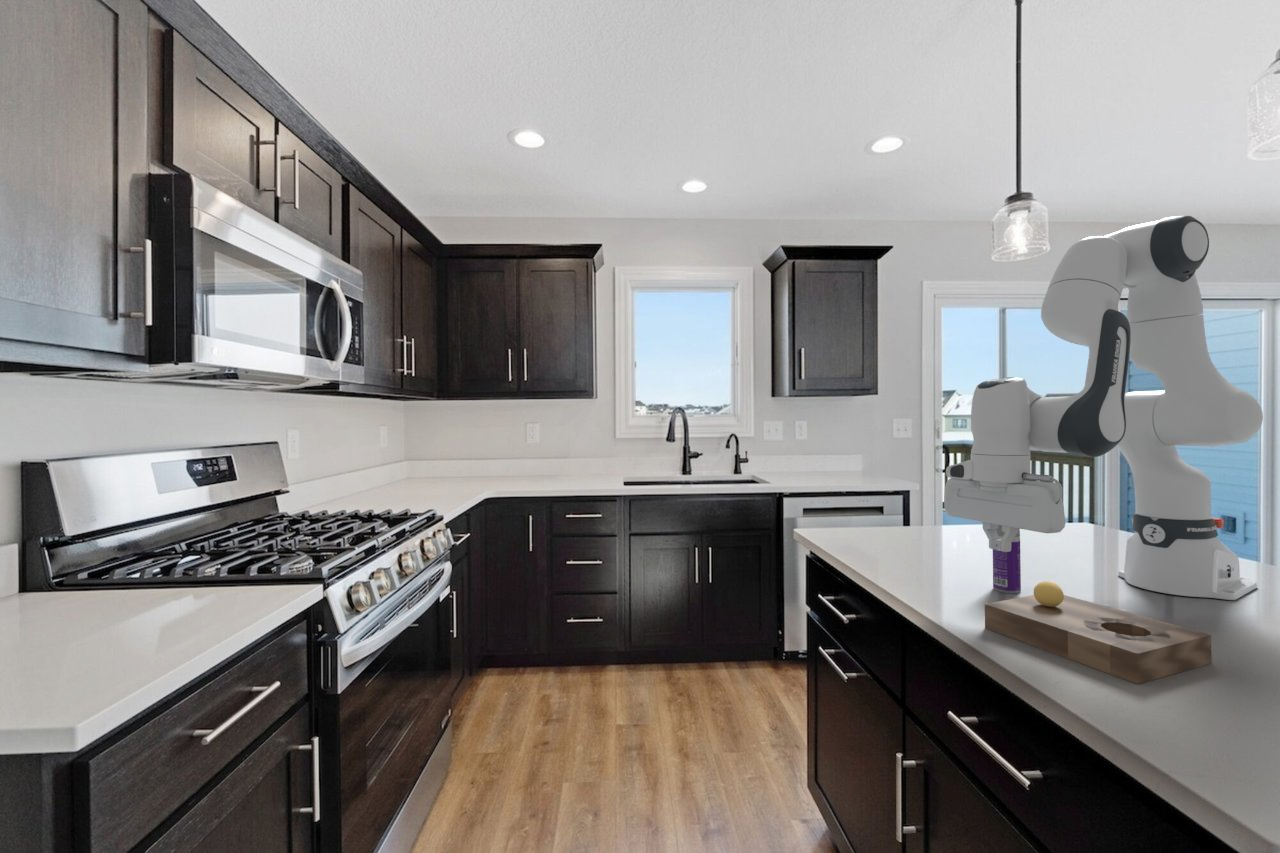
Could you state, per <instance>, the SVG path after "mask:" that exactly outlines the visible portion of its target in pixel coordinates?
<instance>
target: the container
mask: <svg viewBox="0 0 1280 853" xmlns="http://www.w3.org/2000/svg"><path fill="white" fill-rule="evenodd" d="M1020 530H1021V529H1019V528H1018V533H1017V535H1016V536H1015V538H1014V539H1013V541H1011V551H1010V552H1003V551H999V550H994V549H992V589H993V590H994V591H995V592H996V591H997V592H999V593H1004V594H1014V595H1015V594H1020V593H1021V592H1022V586H1021V585H1022V584H1021V583H1022V574H1021V573H1022V572H1021V571H1022V570H1021V568H1022V566H1021V532H1020ZM996 531H997V534H998V536H999V539H1002V537H1003V536H1004V534H1005V532H1002V525H998V528H996Z"/></svg>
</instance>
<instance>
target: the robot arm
mask: <svg viewBox="0 0 1280 853" xmlns="http://www.w3.org/2000/svg"><path fill="white" fill-rule="evenodd" d="M1209 247H1210V238H1209V233H1208V231H1207V228H1206V226H1205V225H1204V224H1203V222H1201V221H1199V220H1198V219H1197V218H1195V217H1193V216H1192V215H1175V216H1169V217H1164V218H1161V219H1160V220H1155V221H1150V222H1145V223H1140V224H1135V225H1132V226H1131V225H1130V226H1128V227H1125V228H1122V229H1120V230H1118V231H1115V232H1112V233H1110V234H1106V235H1104V236H1102V235H1100V236H1099V235H1097V236H1096V235H1095V236H1088V237H1085V238H1082V239H1080V240H1078V241H1076V242H1074V243H1073V244H1072V245H1071V246H1070V247H1069V248H1068V249H1067V251H1066V252H1065V253H1064V255H1063V257H1062V259H1061V260H1060V262H1059V264H1058V266H1057V267H1056V269H1055V271H1054V272H1053V276H1052V277H1051V280H1050V282H1049V285H1048V287H1047V290H1046V293H1045V296H1044V298H1043V301H1042V304H1041V308H1040V310H1041V311H1040V317H1041V320H1042V323H1043V325H1044V327H1045V328H1046V330H1048V331H1049V333H1051V334H1052V335H1054V336H1055V337H1057V338H1059V339H1061V340H1062V341H1065V342H1067V343H1071V344H1074V345H1079V346H1084V347H1088V351H1089V352H1088V359H1087V366H1086V374H1085V382H1084V387H1083V389H1082V390H1080V391H1079V392H1078V393H1076V394H1074V395H1069V396H1066V395H1065V396H1042V395H1041V394H1039V393H1036V392H1035V391H1033V390H1032V389H1030V387H1028V384H1027V381H1026V379H1025V378H1021V377H1019V376H1015V377H1014V376H1013V377H1010V376H1008V377H1001V378H993V379H989V380H985V381H982V382H980V383H979V384H977V385H976V387H975V388H974V392H973V394H972V395H973V396H972V399H971V400H972V401H971V409H970V411H971V412H970V430H971V434H972V436H973V437H972V438H973V442H972V447H971V450H970V459H969V460H968V459H967V460H965V461H961V462H958V463H955V464H951V465H948V466H947V467H946V469H945V474H946V477H947V478H949V479H948V480H946V482H945V486H944V496H943V497H944V502H943V503H944V505H943V506H944V511H945V512H946V513H947V515H948V517H953V518H959V519H965V520H970V521H976V522H981V523H982V529H983V532H984V534H985V535H986V537H987V539H988V548H989V549H991V550H993V549H994V550H999V551H1003V552H1010V551H1011V541H1013V539H1014V538H1015V536H1016V535H1017V533H1018V528H1019V529H1020V530H1026V531H1031V532H1035V533H1037V532H1038V533H1043V534H1058V533H1061V532H1062V531H1063V530H1064V529H1065V527H1066V515H1065V514H1066V513H1065V508H1064V507H1065V506H1064V503H1063V487H1062V486H1063V485H1062V484H1061V483H1060V482H1059V481H1058V479H1056V478H1054V477H1053V475H1050V474H1049V475H1048V474H1036V473H1031V451H1034V452H1035V451H1036V452H1040V451H1041V452H1045V453H1046V452H1047V453H1063V454H1071V455H1072V454H1073V455H1077V456H1085V457H1094V458H1097V457H1102V456H1103V455H1105V454H1107V453H1108V452H1110V451H1112V450H1113V449H1114V448H1117V449H1118V450H1119V452H1120V453H1121V454H1122V455H1123V457H1124V458H1125V460H1126V462H1127V464H1128V466H1129V468H1130V471H1131V474H1132V479H1133V488H1134V501H1135V502H1134V506H1135V512H1134V513H1133V514H1132V518H1131V523H1132V530H1133V531H1134V532H1133V534H1132V535H1131V536H1129V537H1128V538H1127V540H1126V546H1125V547H1126V548H1125V557H1124V558H1125V559H1124V568H1123V569H1119V570H1118V573H1117V575H1118V576H1119V577H1120V578H1123V579H1124V580H1125V582H1126V583H1127V584H1130V585H1131V586H1134V587H1137V588H1141V589H1144V590H1148V591H1151V592H1157V593H1163V594H1168V595H1175V596H1182V597H1192V598H1196V597H1197V598H1210V599H1211V598H1212V599H1219V600H1228V601H1236V600H1238V599H1239V598H1241V597H1243V596H1245V595H1247V594H1248V593H1250V592H1251V591H1253V590H1255V589H1256V588H1257V589H1258V583H1257V582H1256V581H1254V580H1252V579H1251V580H1250V579H1247V578H1244V577H1241V572H1240V559H1239V557H1238V555H1237V554H1236V553H1235V552H1233V551H1232V550H1231V549H1230V548H1229V547H1227V546H1226V544H1224V543H1223V542H1222V541H1221V540H1220V539H1218V538H1217V537H1218V536H1219V534H1218V529H1223V528H1224V526H1225V520H1224V518H1220V517H1212V494H1211V492H1212V487H1211V486H1212V485H1211V481H1210V479H1209V477H1208V476H1207V475H1206V474H1205V473H1204V472H1203V471H1202V470H1200V469H1198V468H1197V467H1195V466H1193V465H1190V464H1189V463H1187V462H1185V461H1184V460H1183V459H1182V457H1181V456H1180V455H1179V453H1178V451H1177V446H1180V447H1181V446H1183V447H1184V446H1185V447H1206V448H1207V447H1212V448H1214V447H1220V446H1221V447H1222V446H1230V445H1236V444H1243V443H1246V442H1248V441H1250V440H1251V439H1252V438H1253V437H1254V436H1256V435H1257V433H1258V432H1259V430H1260V429H1261V427H1262V425H1263V424H1262V423H1263V419H1264V414H1263V410H1262V407H1261V405H1260V403H1259V402H1258V400H1257V399H1256V398H1255V397H1254V396H1253V395H1251V394H1250V393H1249V392H1248V391H1245V390H1243V389H1240V388H1239V387H1237V386H1236V385H1234V384H1232V383H1231V382H1229V381H1228V380H1227V379H1226V378H1225V377H1224V376H1223V375H1222V373H1220V371H1219V370H1218V369H1217V368H1216V365H1214V363H1213V361H1212V359H1211V356H1210V353H1209V350H1208V345H1207V338H1206V332H1205V320H1204V319H1205V318H1204V308H1203V301H1202V300H1203V299H1202V294H1201V289H1200V286H1199V282H1198V279H1197V276H1196V274H1195V273H1196V272H1197V270H1198V269H1199V268H1200V267H1201V265H1202V264H1203V263H1204V260H1205V259H1206V257H1207V255H1208V253H1209ZM1124 289H1128V297H1127V305H1126V306H1127V307H1126V308H1127V311H1126V313H1127V314H1126V315H1125V314H1124V313H1122V312H1121V311H1119V303H1120V299H1121V297H1122V293H1123V290H1124ZM1130 361H1131V362H1132V363H1133V365H1134V366H1136V367H1137V368H1139V369H1141V370H1143V371H1146V372H1149V373H1151V374H1153V375H1155V376H1156V377H1157V378H1158V379H1159V381H1160V382H1161V383H1162V386H1163V388H1164V390H1163V389H1162V390H1161V389H1160V390H1159V389H1158V390H1143V391H1142V390H1141V391H1140V390H1139V391H1128V392H1126V388H1127V378H1128V373H1129V372H1128V371H1129V362H1130ZM998 525H1002V532H1005V534H1004V536H1003V537H1002V539H999V536H998V534H997V531H996V528H998Z"/></svg>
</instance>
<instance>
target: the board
mask: <svg viewBox="0 0 1280 853" xmlns="http://www.w3.org/2000/svg"><path fill="white" fill-rule="evenodd" d="M984 629H986V630H989V631H992V632H994V633H998V634H1000V635H1003V636H1005V637H1009V638H1011V639H1013V640H1017V641H1019V642H1021V643H1025V644H1028V645H1029V646H1032V647H1035V648H1039V649H1041V650H1043V651H1047V652H1049V653H1051V654H1054V655H1057V656H1059V657H1062V658H1065V659H1068V660H1070V661H1071V660H1072V661H1074V662H1076V663H1079V664H1081V665H1084V666H1087V667H1090V668H1092V669H1095V670H1098V671H1101V672H1104V673H1107V674H1109V675H1112V676H1114V677H1117V678H1119V679H1123V680H1126V681H1128V682H1130V683H1134V684H1137V685H1140V684H1143V683H1148V682H1150V681H1154V680H1158V679H1161V678H1164V677H1170V676H1172V675H1175V674H1179V673H1182V672H1186V671H1189V670H1193V669H1196V668H1200V667H1203V666H1207V665H1210V664H1213V663H1212V658H1213V657H1212V634H1209V633H1207V632H1206V633H1205V632H1202V631H1198V630H1195V629H1192V628H1189V627H1184V626H1180V625H1176V624H1174V623H1169V622H1166V621H1161V620H1158V619H1155V618H1150V617H1148V616H1143V615H1139V614H1135V613H1132V612H1128V611H1124V610H1122V609H1117V608H1114V607H1110V606H1106V605H1102V604H1099V603H1095V602H1092V601H1091V602H1090V601H1087V600H1084V599H1080V598H1077V597H1073V596H1069V595H1065V594H1064V599H1063V601H1062V603H1061V604H1059V605H1058V606H1055V607H1047V606H1044V605H1042V604H1040V603H1039V602H1038V601H1037V600H1036V599H1035V596H1034V594H1032V595H1027V596H1021V597H1015V598H1011V599H1010V598H1009V599H1004V600H999V601H993V602H989V603H984Z"/></svg>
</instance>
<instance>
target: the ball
mask: <svg viewBox="0 0 1280 853" xmlns="http://www.w3.org/2000/svg"><path fill="white" fill-rule="evenodd" d="M1033 595H1034V596H1035V599H1036V600H1037V601H1038V602H1039V603H1040V604H1042V605H1044V606H1047V607H1055V606H1058V605H1059V604H1061V603H1062V601H1063V599H1064V595H1065V593H1064V591H1063V589H1062V588H1061V586H1059V585H1058V584H1057V583H1055V582H1053V581H1049V580H1048V581H1047V580H1046V581H1044V580H1043V581H1041V582H1039V583H1037V584H1036V585H1035V587H1034V588H1033Z"/></svg>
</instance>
